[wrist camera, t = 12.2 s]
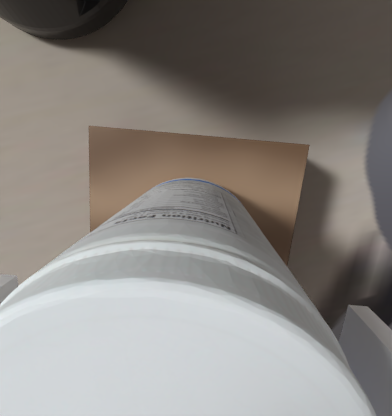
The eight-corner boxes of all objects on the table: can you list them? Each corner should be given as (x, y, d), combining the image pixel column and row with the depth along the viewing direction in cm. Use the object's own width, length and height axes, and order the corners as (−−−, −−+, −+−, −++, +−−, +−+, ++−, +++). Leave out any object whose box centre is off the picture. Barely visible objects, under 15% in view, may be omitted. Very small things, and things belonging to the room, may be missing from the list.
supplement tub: (259, 287, 20) (402, 640, 6) (140, 303, 21) (2, 661, 6) (244, 163, 18) (413, 235, 4) (111, 185, 18) (-203, 324, 4)
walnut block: (117, 130, 23) (88, 125, 17) (282, 144, 23) (309, 144, 17) (115, 279, 27) (91, 317, 21) (258, 292, 27) (274, 333, 21)
